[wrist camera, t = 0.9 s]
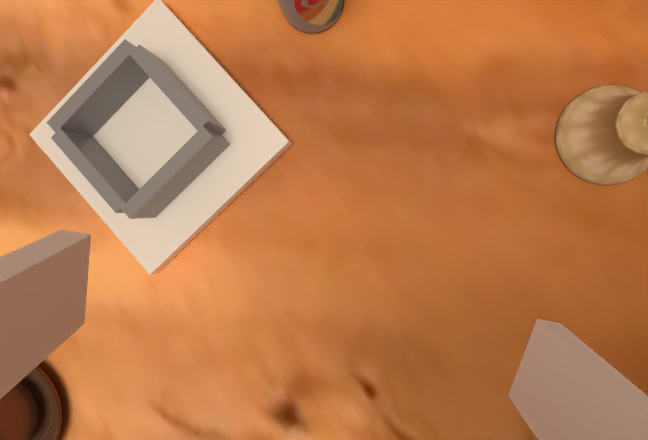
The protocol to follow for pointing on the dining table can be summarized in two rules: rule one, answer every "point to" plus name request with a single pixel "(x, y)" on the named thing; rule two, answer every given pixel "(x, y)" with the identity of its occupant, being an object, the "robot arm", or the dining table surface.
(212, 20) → the dining table surface
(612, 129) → the hand bell
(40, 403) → the cup and saucer
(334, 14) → the lotion bottle
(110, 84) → the bottle holder
